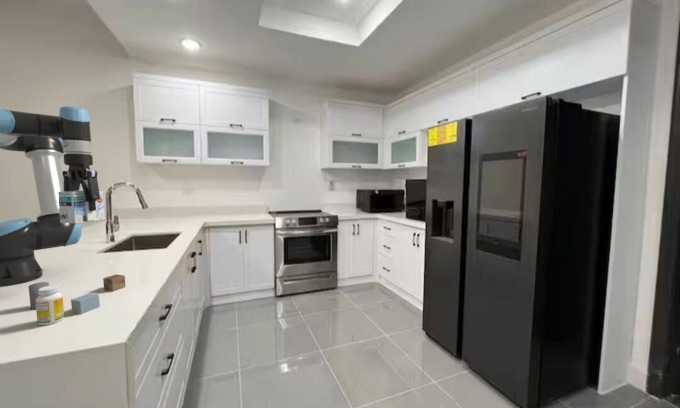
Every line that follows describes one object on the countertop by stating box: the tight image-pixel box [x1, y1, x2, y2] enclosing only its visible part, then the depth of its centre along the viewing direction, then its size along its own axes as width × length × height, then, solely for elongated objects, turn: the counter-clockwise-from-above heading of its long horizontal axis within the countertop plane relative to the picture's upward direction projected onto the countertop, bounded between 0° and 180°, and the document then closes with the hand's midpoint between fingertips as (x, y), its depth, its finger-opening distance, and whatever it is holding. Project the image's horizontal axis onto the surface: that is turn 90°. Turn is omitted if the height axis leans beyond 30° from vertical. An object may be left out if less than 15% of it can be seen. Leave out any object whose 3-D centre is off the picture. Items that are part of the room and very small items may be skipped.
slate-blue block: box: [70, 292, 101, 315], centre depth 89 cm, size 4×5×4 cm
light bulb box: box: [58, 189, 106, 224], centre depth 104 cm, size 11×7×11 cm, turn 168°
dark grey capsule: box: [27, 281, 50, 311], centre depth 92 cm, size 4×4×7 cm
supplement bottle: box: [35, 284, 65, 326], centre depth 82 cm, size 5×5×10 cm
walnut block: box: [102, 274, 126, 292], centre depth 106 cm, size 4×4×4 cm
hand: (83, 219), depth 105 cm, fingers closed on light bulb box, 7 cm apart
